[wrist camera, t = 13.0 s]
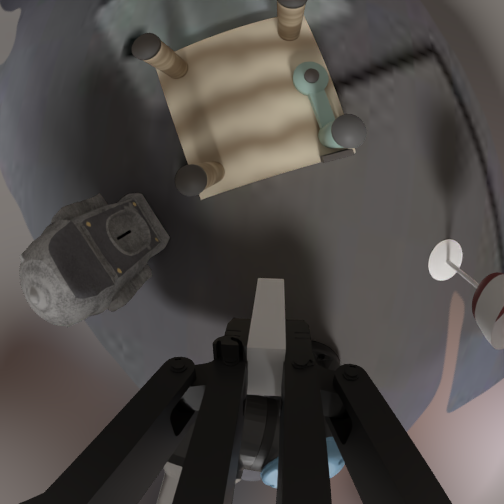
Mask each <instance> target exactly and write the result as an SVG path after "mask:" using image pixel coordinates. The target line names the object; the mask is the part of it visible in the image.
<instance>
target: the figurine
mask: <svg viewBox="0 0 504 504" xmlns="http://www.w3.org/2000/svg"><path fill="white" fill-rule="evenodd" d="M51 223H52V224H50V225H49V226H47V227H46V229H45V230H44V231H43V233H42V235H41V236H40V237H38V238H37V239H36V240H34V241H33V242H32V243H31V244H30V246H29V247H28V248H27V249H26V250H25V251H24V252H23V253H22V254H21V256H20V259H21V264H20V284H21V288H22V291H23V294H24V297H25V298H26V300H27V302H28V304H29V305H30V307H31V308H32V309H33V311H34V312H35V313H37V315H38V316H40V317H42V318H43V319H44V320H46V321H48V322H49V323H52V324H55V325H62V326H67V327H70V326H72V325H74V324H76V323H79V322H81V321H83V320H85V319H86V318H88V317H89V316H93V315H97V314H101V313H103V312H104V311H105V310H106V309H107V308H108V310H109V311H111V312H113V311H116V310H118V309H120V308H121V307H123V306H124V305H126V304H127V303H128V302H129V301H130V299H131V298H132V297H133V296H134V295H135V293H136V292H137V291H138V290H139V289H140V288H141V287H142V285H143V284H144V283H145V281H147V280H148V279H149V278H151V277H152V272H151V269H150V267H149V266H148V264H147V262H148V260H149V259H150V258H151V257H153V256H154V255H156V254H158V253H159V252H160V251H162V250H163V249H164V248H165V247H166V245H167V243H168V241H169V238H170V237H169V235H168V234H167V232H166V231H165V229H164V228H163V226H162V225H161V223H160V221H159V220H158V218H157V217H156V215H155V214H154V212H153V211H152V209H151V207H150V206H149V204H148V202H147V201H146V199H145V198H144V196H143V194H140V193H131V194H127V195H126V196H124V197H123V198H122V199H121V200H120V201H119V202H118V203H115V204H110V205H108V204H107V202H106V201H105V200H104V198H103V197H102V196H101V194H100V193H99V194H98V195H96V196H94V197H92V198H89V199H87V200H84V201H81V202H76V203H73V204H70V205H67V206H65V207H62V208H61V209H60V210H59V211H58V212H57V213H56V215H55V216H54V217H53V218H52V221H51ZM129 230H130V231H131V233H129V234H128V235H127V233H126V232H127V231H129Z"/></svg>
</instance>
